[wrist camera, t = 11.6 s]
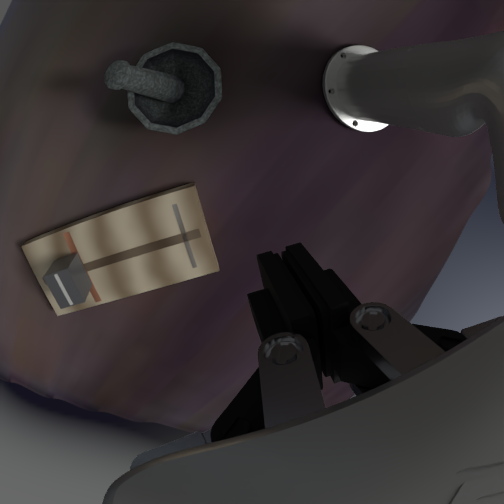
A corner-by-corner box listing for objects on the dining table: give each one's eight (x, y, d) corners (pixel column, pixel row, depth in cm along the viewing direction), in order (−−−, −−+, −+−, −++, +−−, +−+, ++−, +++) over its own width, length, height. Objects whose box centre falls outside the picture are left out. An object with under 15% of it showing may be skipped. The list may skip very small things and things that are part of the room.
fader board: (194, 182, 38) (195, 185, 36) (218, 263, 44) (219, 270, 42) (26, 240, 36) (21, 246, 34) (61, 308, 41) (57, 316, 39)
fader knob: (77, 252, 36) (67, 268, 32) (92, 284, 38) (84, 302, 34) (54, 260, 36) (42, 277, 32) (69, 291, 38) (60, 309, 34)
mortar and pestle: (226, 65, 32) (244, 45, 22) (205, 136, 36) (214, 147, 25) (136, 48, 29) (116, 22, 18) (117, 120, 33) (88, 124, 22)
